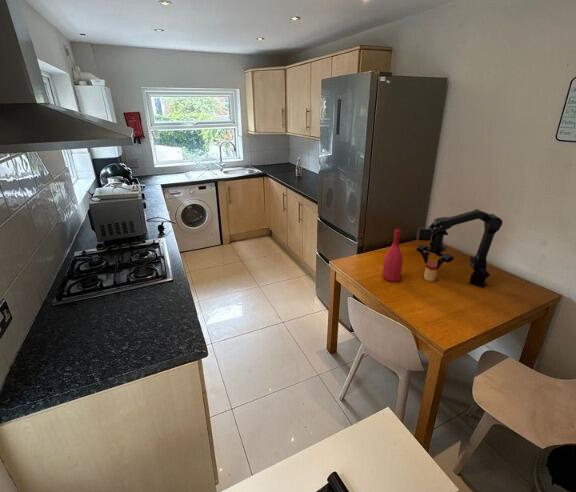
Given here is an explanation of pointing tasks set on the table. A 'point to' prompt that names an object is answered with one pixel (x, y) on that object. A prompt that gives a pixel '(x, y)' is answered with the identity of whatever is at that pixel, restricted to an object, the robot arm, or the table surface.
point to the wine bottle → (393, 260)
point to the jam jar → (430, 274)
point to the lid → (431, 265)
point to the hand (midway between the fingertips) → (431, 266)
